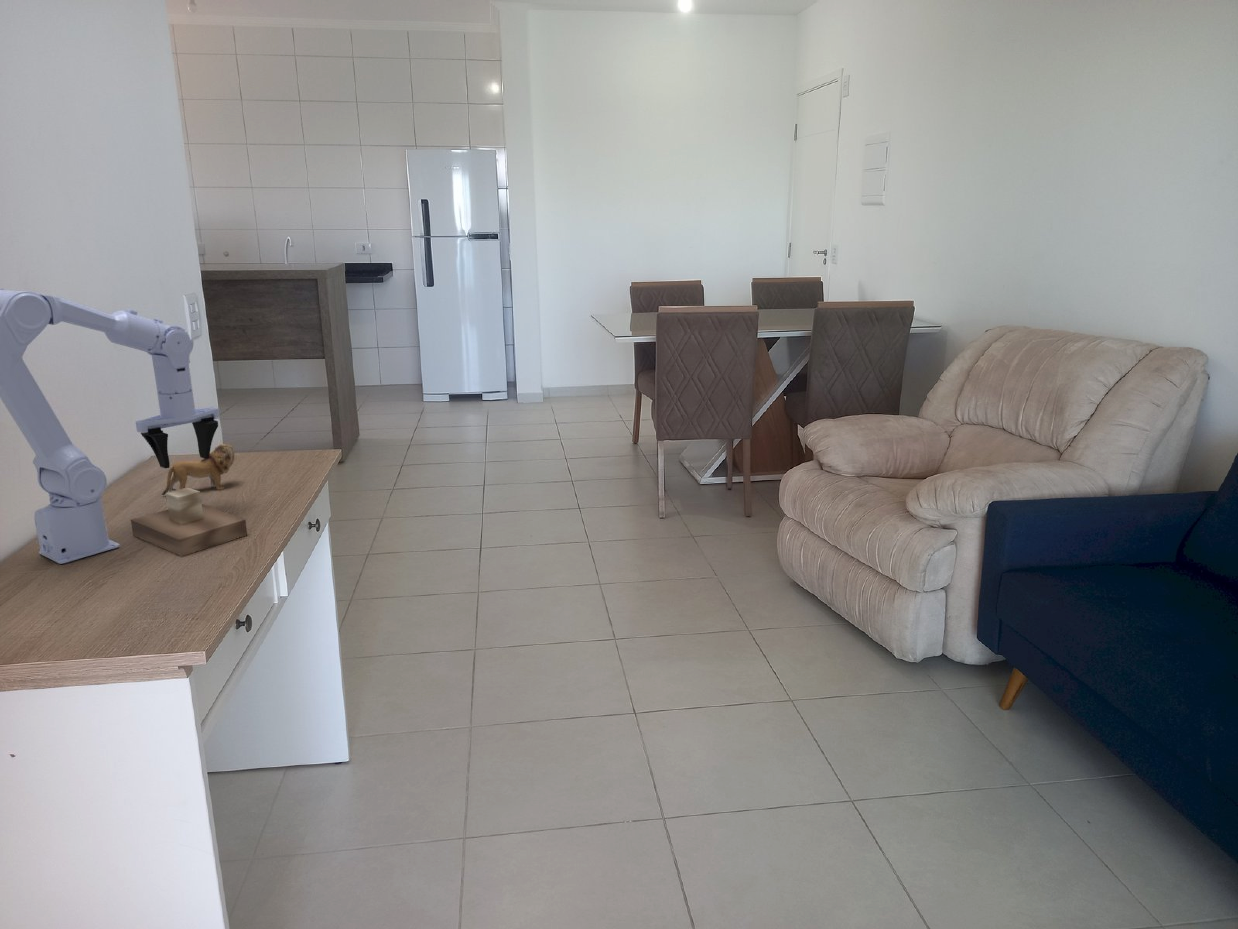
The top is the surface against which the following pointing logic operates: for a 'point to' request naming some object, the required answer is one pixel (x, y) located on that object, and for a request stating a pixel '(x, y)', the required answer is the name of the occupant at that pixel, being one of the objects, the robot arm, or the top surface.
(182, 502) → the birch block
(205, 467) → the lion figurine
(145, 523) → the walnut plinth
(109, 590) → the top surface
